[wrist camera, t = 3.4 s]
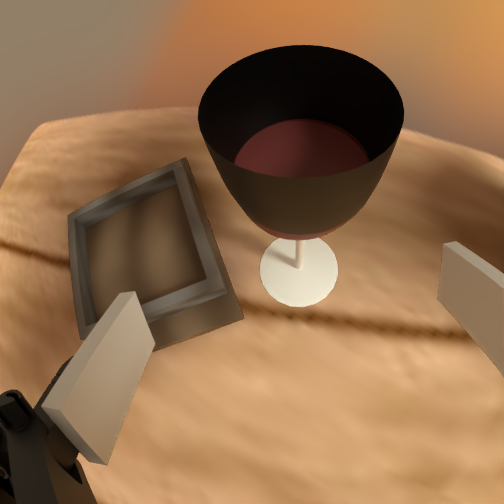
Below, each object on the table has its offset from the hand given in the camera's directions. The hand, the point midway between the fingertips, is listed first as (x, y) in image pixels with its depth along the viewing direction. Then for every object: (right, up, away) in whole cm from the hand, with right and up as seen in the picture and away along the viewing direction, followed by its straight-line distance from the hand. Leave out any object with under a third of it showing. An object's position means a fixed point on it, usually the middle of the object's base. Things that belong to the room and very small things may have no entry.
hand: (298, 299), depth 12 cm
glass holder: (-13, +1, +20) cm, 24 cm away
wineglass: (+3, 0, +17) cm, 17 cm away
